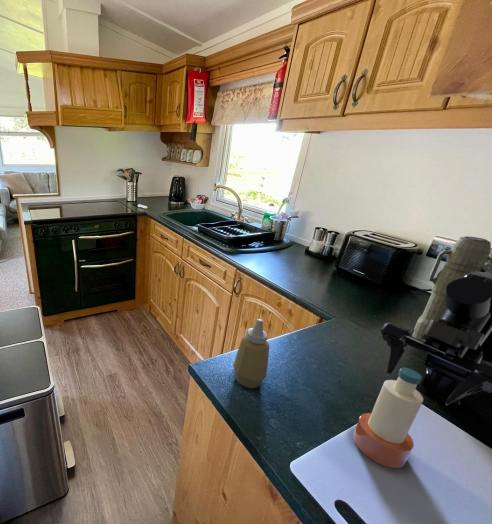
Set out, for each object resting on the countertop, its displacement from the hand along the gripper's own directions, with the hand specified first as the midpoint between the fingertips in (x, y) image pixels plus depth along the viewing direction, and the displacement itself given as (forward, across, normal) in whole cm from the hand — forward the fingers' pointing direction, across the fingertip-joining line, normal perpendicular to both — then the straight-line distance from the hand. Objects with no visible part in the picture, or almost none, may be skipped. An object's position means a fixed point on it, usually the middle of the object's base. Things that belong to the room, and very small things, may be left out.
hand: (415, 387), depth 57 cm
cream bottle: (+11, 0, 0) cm, 11 cm away
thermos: (-28, -10, +46) cm, 55 cm away
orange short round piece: (+14, 0, +3) cm, 14 cm away
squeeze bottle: (+20, -25, -3) cm, 33 cm away
